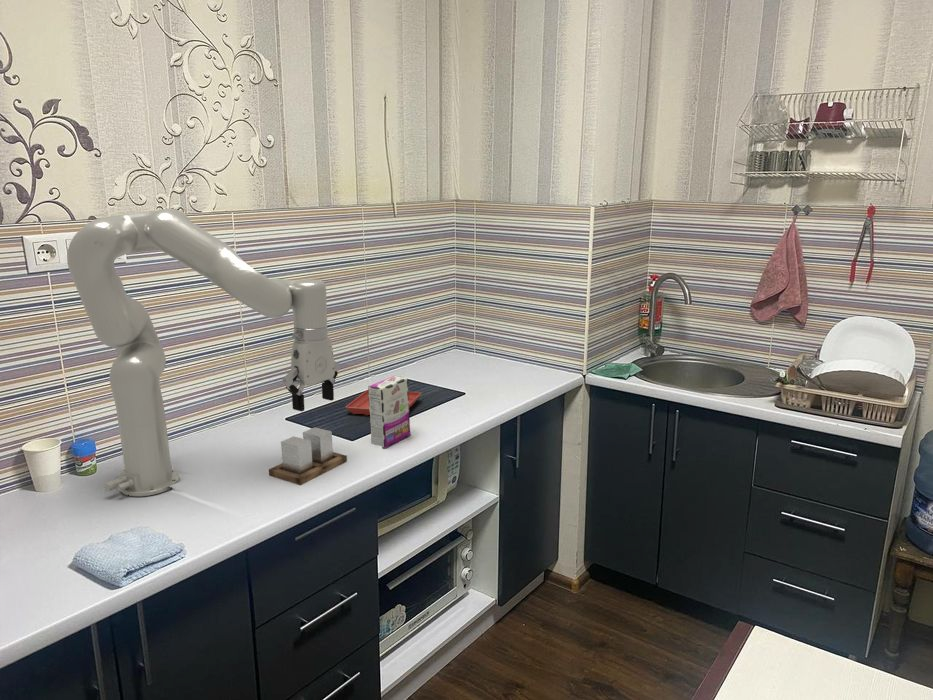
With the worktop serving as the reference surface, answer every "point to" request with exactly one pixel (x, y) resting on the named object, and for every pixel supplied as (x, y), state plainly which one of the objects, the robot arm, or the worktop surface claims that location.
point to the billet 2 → (320, 444)
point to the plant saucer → (362, 403)
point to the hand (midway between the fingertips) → (313, 404)
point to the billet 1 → (296, 455)
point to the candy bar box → (389, 411)
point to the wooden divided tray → (309, 475)
